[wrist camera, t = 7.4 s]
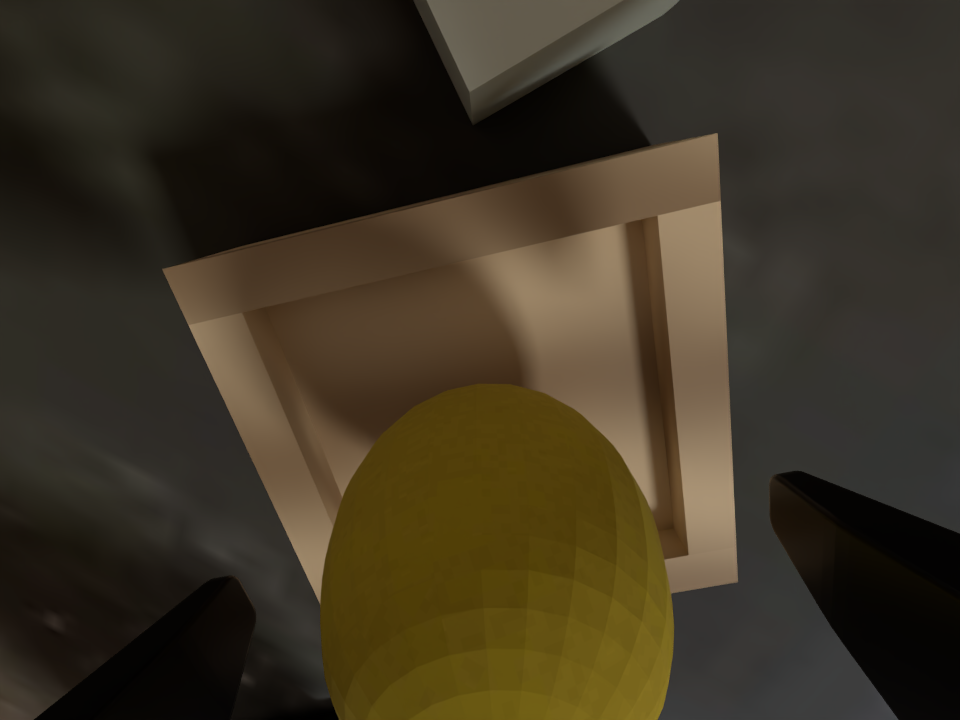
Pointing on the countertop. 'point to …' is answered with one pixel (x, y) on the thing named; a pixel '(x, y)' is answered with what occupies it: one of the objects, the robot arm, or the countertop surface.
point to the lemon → (495, 570)
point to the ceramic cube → (524, 41)
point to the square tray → (491, 335)
